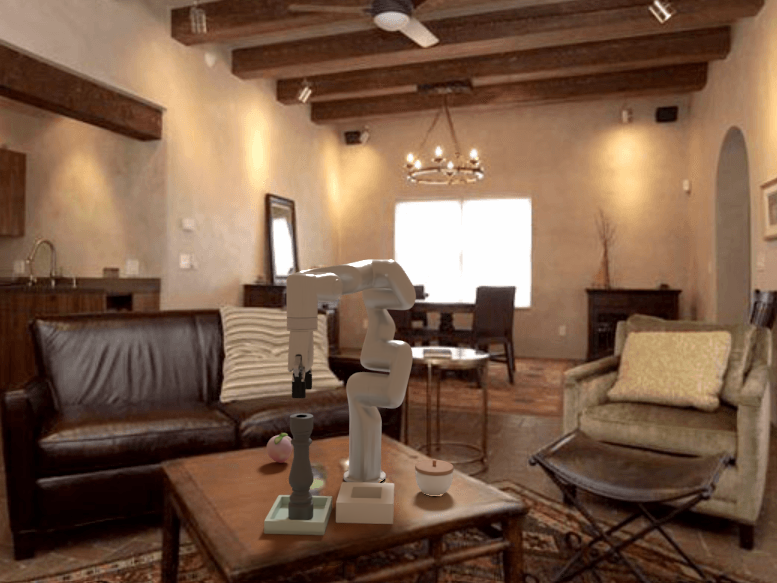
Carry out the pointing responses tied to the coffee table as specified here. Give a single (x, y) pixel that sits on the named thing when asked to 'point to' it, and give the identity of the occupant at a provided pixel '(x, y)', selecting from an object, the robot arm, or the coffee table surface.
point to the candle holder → (301, 468)
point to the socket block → (365, 503)
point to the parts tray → (283, 525)
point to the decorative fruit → (280, 447)
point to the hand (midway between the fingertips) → (302, 393)
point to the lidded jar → (434, 476)
